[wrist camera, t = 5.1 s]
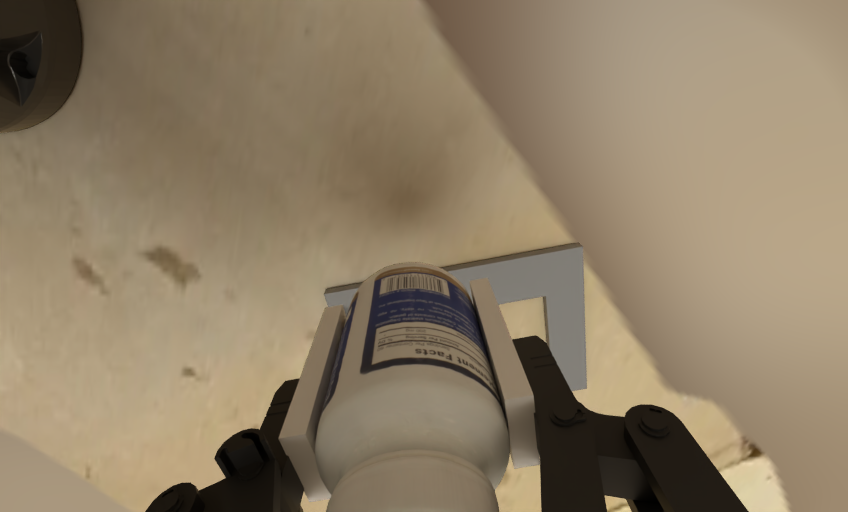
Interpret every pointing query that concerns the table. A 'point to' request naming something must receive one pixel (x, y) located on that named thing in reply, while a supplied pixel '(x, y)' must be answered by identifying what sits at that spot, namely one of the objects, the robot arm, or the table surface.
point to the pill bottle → (412, 401)
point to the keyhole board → (529, 297)
